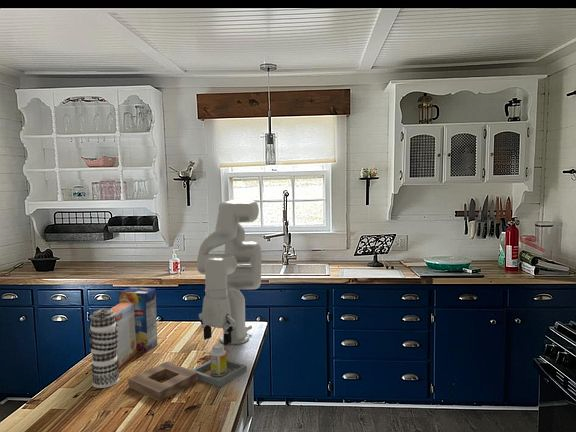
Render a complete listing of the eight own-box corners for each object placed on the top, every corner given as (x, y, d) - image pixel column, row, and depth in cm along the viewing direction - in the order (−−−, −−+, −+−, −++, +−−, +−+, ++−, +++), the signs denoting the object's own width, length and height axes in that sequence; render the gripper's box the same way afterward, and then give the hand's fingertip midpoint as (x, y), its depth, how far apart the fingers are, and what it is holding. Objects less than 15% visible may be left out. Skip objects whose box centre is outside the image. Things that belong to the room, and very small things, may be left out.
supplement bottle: (227, 369, 152) (226, 342, 151) (226, 376, 146) (225, 348, 146) (211, 370, 151) (210, 343, 150) (210, 377, 146) (209, 349, 145)
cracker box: (123, 352, 168) (120, 301, 166) (137, 353, 167) (134, 302, 165) (103, 368, 154) (100, 313, 152) (118, 369, 153) (116, 313, 151)
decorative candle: (92, 378, 146) (88, 308, 144) (120, 373, 150) (117, 305, 147) (90, 390, 138) (85, 316, 136) (120, 385, 141) (116, 313, 139)
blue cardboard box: (121, 349, 171) (118, 292, 169) (132, 342, 178) (129, 287, 176) (147, 352, 168) (145, 293, 166) (157, 344, 175) (155, 288, 173)
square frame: (218, 361, 159) (218, 356, 158) (246, 371, 151) (246, 365, 150) (190, 376, 147) (190, 370, 147) (219, 387, 139) (219, 381, 139)
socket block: (167, 369, 153) (167, 361, 152) (198, 381, 144) (197, 372, 143) (128, 387, 140) (128, 378, 139) (159, 401, 130) (159, 392, 130)
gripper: (191, 292, 148) (192, 339, 149) (227, 298, 138) (228, 349, 139) (206, 287, 154) (207, 333, 155) (242, 294, 144) (243, 342, 145)
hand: (217, 341), depth 147 cm, fingers open, 9 cm apart
